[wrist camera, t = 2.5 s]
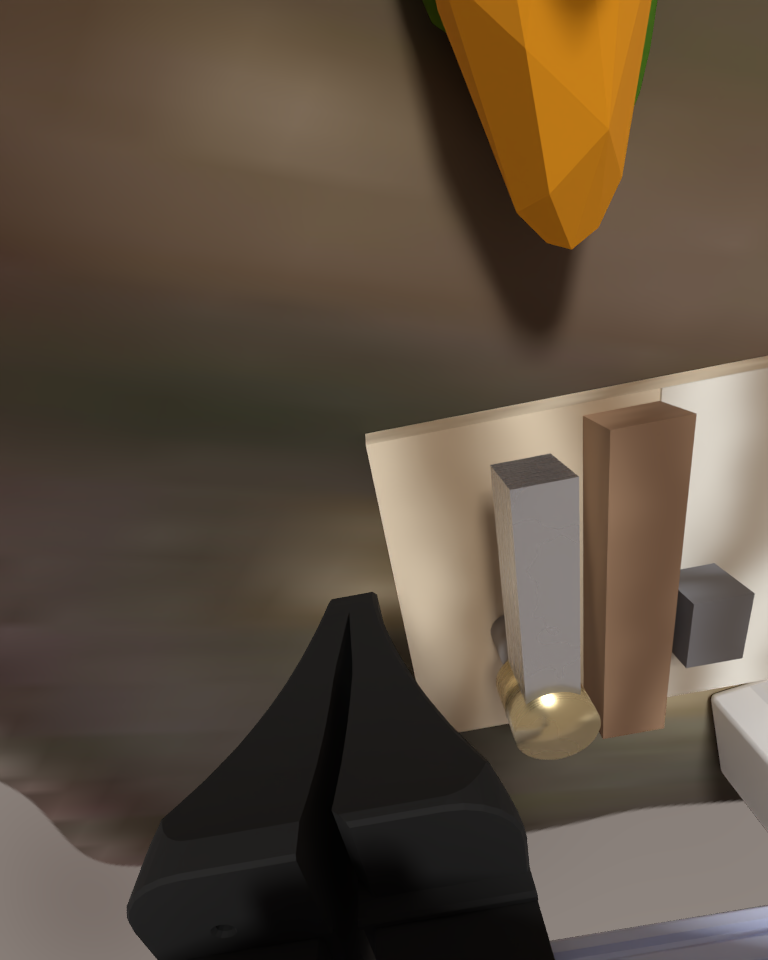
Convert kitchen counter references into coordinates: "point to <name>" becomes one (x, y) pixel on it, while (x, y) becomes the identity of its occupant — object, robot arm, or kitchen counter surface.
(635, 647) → the brown-striped cream panel
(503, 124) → the corn
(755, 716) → the container
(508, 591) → the bar
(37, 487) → the kitchen counter surface
